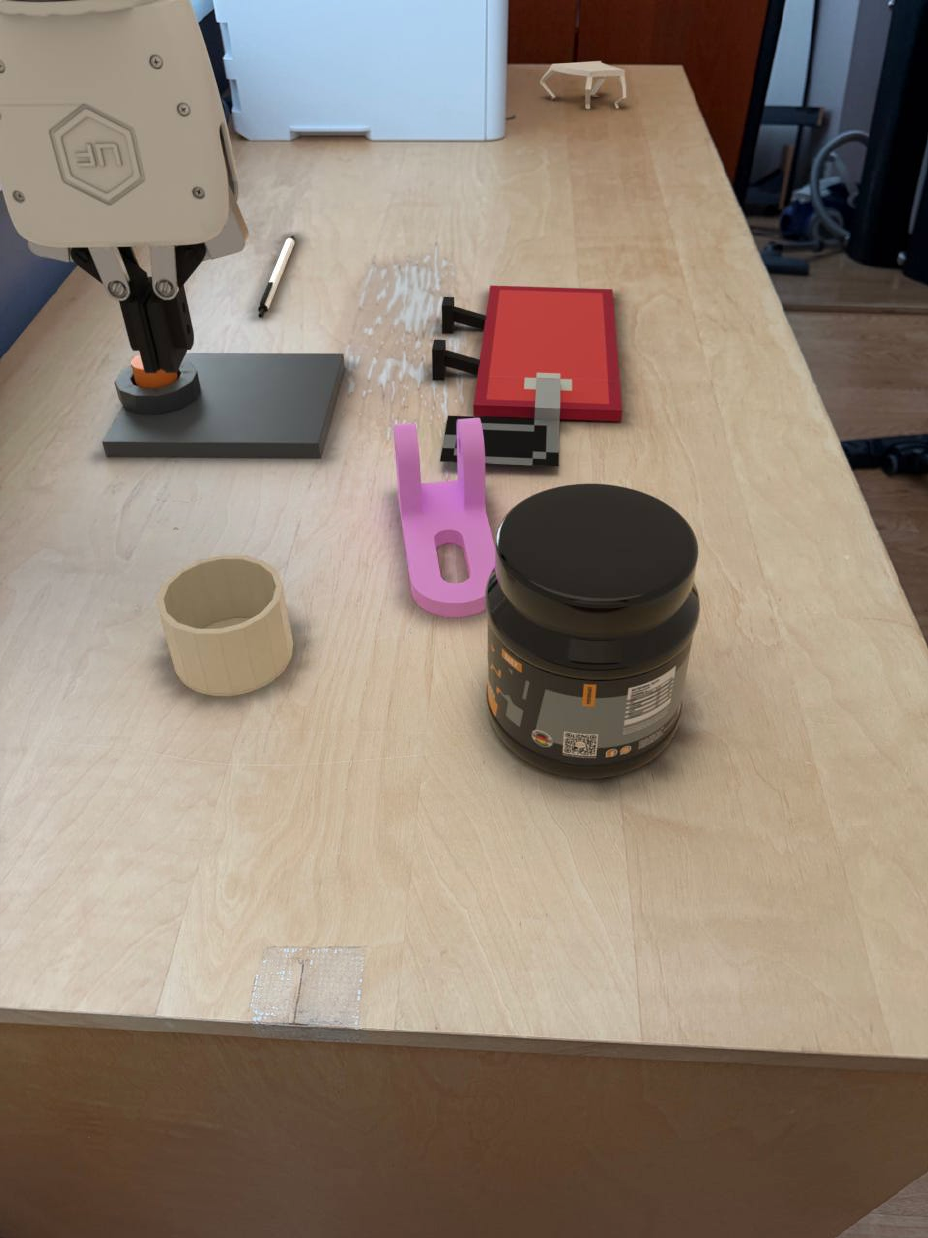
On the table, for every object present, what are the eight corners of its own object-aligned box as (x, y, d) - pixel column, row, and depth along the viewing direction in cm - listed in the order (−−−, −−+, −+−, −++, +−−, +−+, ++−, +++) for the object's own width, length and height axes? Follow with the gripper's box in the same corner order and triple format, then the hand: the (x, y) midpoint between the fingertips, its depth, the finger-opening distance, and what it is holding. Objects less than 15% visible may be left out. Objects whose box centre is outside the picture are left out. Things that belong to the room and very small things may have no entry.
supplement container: (522, 631, 62) (526, 459, 54) (698, 674, 59) (729, 498, 51) (456, 756, 55) (450, 579, 47) (653, 813, 52) (683, 633, 44)
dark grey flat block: (99, 460, 77) (88, 422, 75) (150, 369, 88) (141, 334, 85) (321, 461, 76) (316, 423, 74) (345, 370, 87) (341, 334, 85)
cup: (162, 698, 58) (142, 632, 55) (191, 618, 63) (174, 553, 60) (282, 700, 58) (269, 634, 55) (302, 620, 63) (291, 555, 60)
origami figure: (625, 96, 146) (628, 57, 143) (625, 113, 140) (628, 73, 137) (540, 94, 147) (541, 56, 144) (536, 112, 141) (537, 72, 138)
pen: (256, 320, 94) (254, 308, 94) (289, 240, 109) (287, 229, 108) (266, 320, 94) (264, 308, 94) (297, 239, 109) (296, 229, 108)
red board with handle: (413, 471, 74) (624, 480, 74) (412, 437, 73) (628, 445, 72) (449, 298, 97) (611, 303, 96) (449, 269, 95) (613, 274, 94)
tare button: (130, 390, 79) (125, 369, 78) (142, 370, 82) (137, 349, 80) (172, 390, 79) (167, 369, 78) (182, 370, 81) (178, 349, 80)
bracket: (398, 502, 72) (392, 413, 68) (478, 495, 73) (477, 407, 68) (415, 624, 62) (409, 531, 58) (507, 616, 63) (508, 522, 58)
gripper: (-144, -20, 41) (4, 398, 53) (234, -31, 40) (296, 394, 52) (-66, -53, 46) (52, 332, 58) (265, -62, 46) (316, 327, 58)
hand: (167, 360), depth 55 cm, fingers closed
